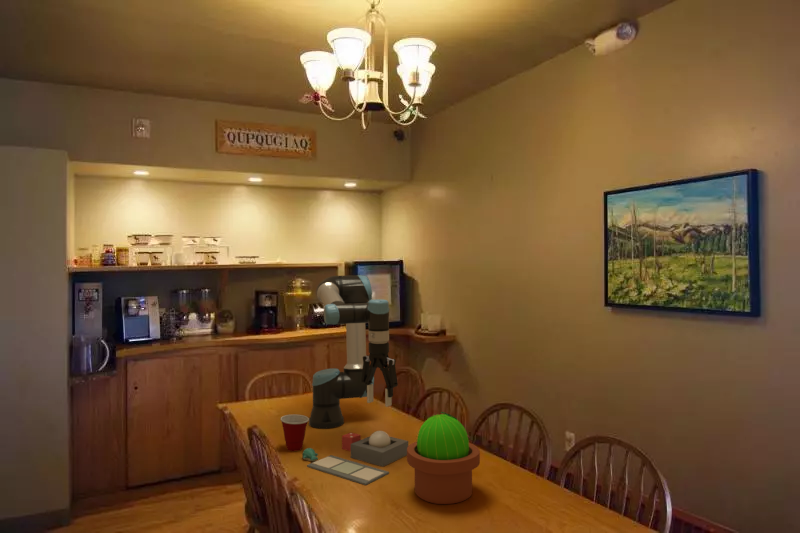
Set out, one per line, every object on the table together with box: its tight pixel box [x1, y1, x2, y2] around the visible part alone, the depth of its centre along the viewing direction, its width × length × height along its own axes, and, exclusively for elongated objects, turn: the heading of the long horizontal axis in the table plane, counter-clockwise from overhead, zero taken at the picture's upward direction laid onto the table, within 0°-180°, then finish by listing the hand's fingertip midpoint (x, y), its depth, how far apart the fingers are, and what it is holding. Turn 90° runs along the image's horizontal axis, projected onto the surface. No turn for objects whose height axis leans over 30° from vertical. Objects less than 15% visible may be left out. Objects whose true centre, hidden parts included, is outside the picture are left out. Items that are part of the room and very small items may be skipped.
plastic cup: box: [280, 413, 310, 452], centre depth 216 cm, size 11×11×12 cm
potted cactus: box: [406, 411, 481, 505], centre depth 175 cm, size 22×22×25 cm
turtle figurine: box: [301, 447, 319, 462], centre depth 204 cm, size 6×7×4 cm
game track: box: [306, 454, 390, 486], centre depth 194 cm, size 12×27×1 cm, turn 53°
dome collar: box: [350, 435, 409, 467], centre depth 207 cm, size 15×15×5 cm
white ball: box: [369, 430, 391, 449], centre depth 207 cm, size 8×8×8 cm
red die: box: [341, 432, 362, 452], centre depth 216 cm, size 5×5×5 cm
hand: (379, 403), depth 207 cm, fingers open, 8 cm apart
